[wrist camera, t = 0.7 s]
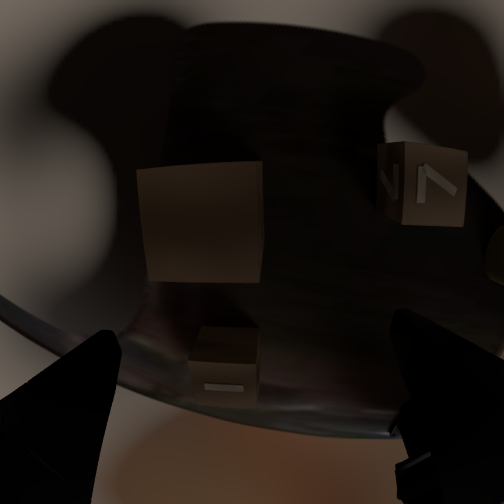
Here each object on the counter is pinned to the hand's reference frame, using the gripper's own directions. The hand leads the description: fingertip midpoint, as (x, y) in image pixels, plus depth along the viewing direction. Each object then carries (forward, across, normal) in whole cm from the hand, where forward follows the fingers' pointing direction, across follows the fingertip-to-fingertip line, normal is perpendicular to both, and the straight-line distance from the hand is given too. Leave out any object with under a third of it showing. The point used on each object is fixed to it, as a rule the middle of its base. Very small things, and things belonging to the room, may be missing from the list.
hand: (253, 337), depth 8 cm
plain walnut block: (+14, +2, 0) cm, 14 cm away
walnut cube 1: (+13, +2, +12) cm, 18 cm away
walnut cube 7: (+13, -12, -2) cm, 18 cm away
